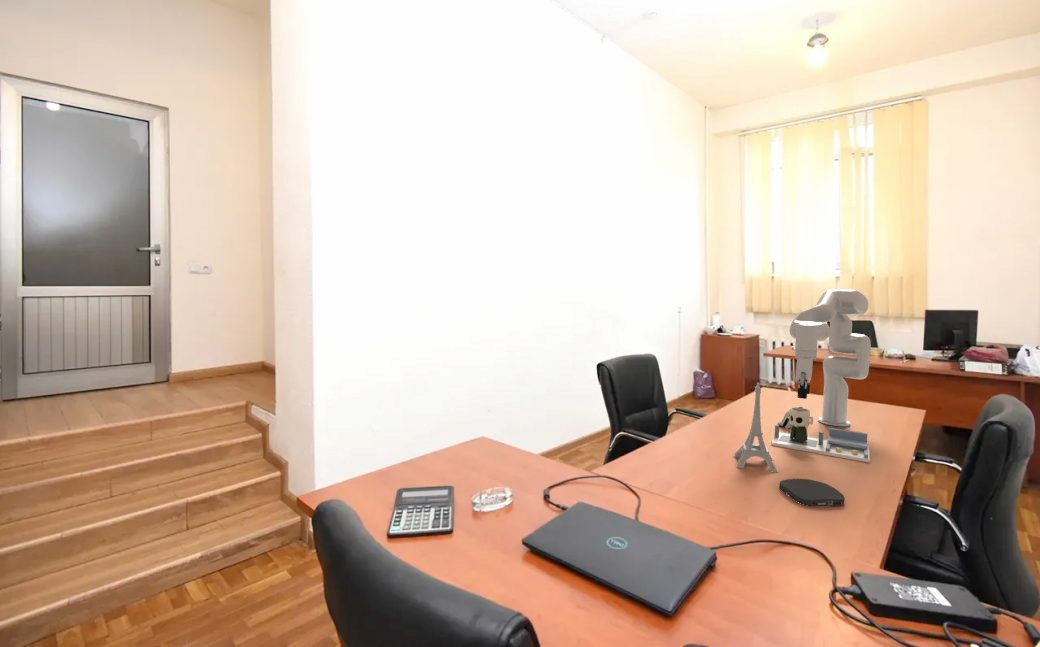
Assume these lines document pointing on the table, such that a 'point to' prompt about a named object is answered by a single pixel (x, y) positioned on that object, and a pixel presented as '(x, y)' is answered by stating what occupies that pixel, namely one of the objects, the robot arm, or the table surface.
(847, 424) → the robot arm
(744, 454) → the eiffel tower
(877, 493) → the table surface
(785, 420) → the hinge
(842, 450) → the board
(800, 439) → the character mug
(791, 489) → the media streaming box
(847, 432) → the cover
